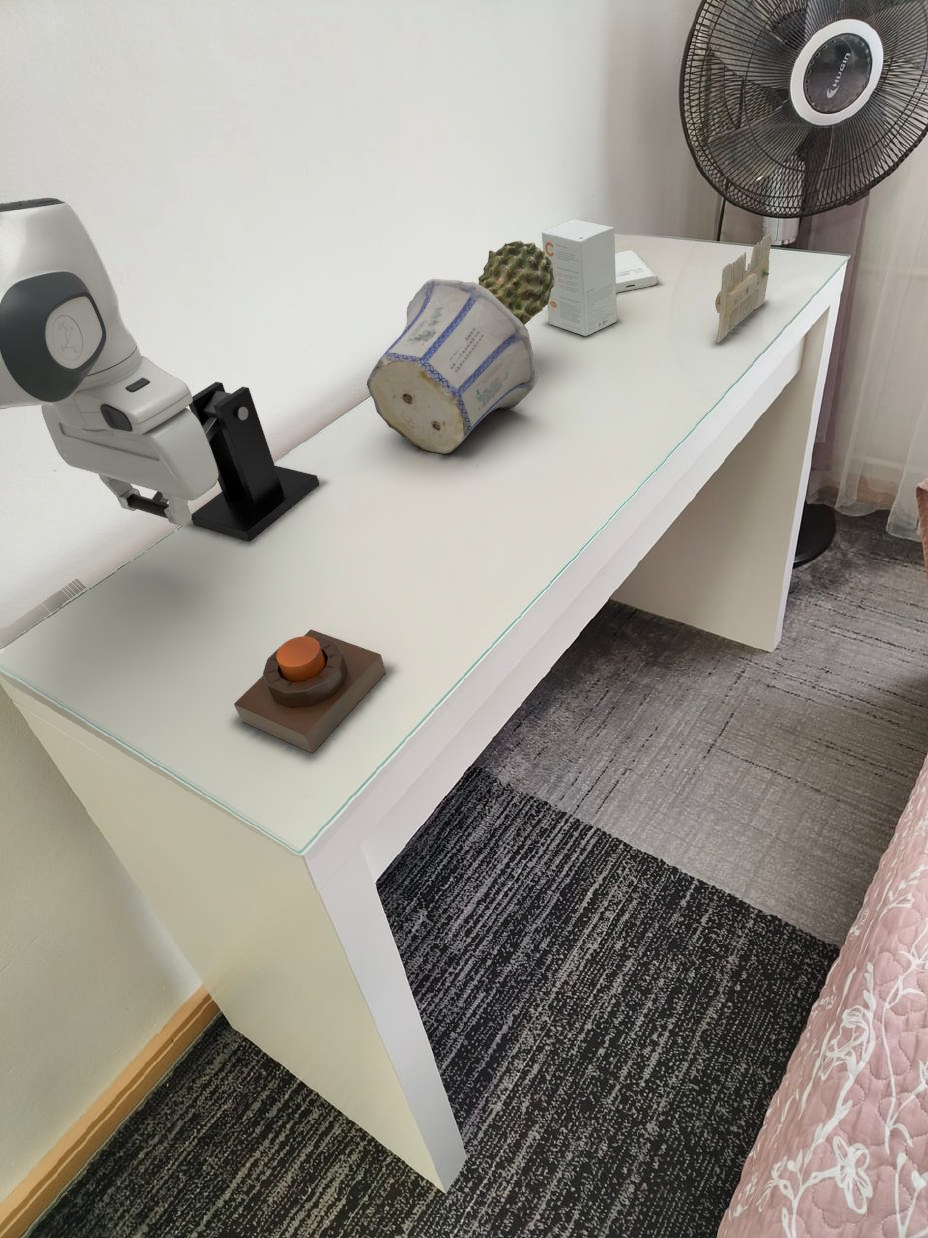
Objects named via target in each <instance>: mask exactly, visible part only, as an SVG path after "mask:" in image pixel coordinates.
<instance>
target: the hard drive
mask: <svg viewBox="0 0 928 1238" xmlns="http://www.w3.org/2000/svg"><path fill="white" fill-rule="evenodd" d="M615 272H616V294H618V293H623V292H627V291H633V290H638V289H642V288H646V287H647V288H648V287H652V286H655V285H656V284H657V283H658V276H657V275H656V274H655V273H654V272H653V271H652V269H651V268H650V267H649V266H648V265H647V264H646V263H645V262H644V260H642V259H641V257H640V256H639V255H638V254H637V253H636V252H635V251H634V250H631V249H629V250H624V251H620V252H615Z"/></svg>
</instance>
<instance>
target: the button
mask: <svg viewBox="0 0 928 1238" xmlns="http://www.w3.org/2000/svg"><path fill="white" fill-rule="evenodd" d="M279 647H280V646H279ZM279 647H278V648H279ZM278 648H277V649H278ZM276 657H277V661H278V663H279V666H280V668H281V671H282V673H283V675H284V677H285V678H286V679H288V680H290V681H295V682H300V681H306V680H308V679H310V678H312V677H315V676H316V675H318V674H319V673H320V672H321V671H322V669H323V667H324V665H325V659H324V656H323V653H322V650H321V647H320V644H319V642H318V641H317V640H316V639H314V638H312V637H308V636H304V635H303V636H296V637H293V638H291V639H288V640H286V641H285V642H284V643H282V645H281V647H280V648H279V649H278V651H277V655H276Z"/></svg>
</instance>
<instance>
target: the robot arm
mask: <svg viewBox="0 0 928 1238" xmlns="http://www.w3.org/2000/svg"><path fill="white" fill-rule="evenodd" d="M192 397H193V394H192V392H191V389H190V387H189V385H188V384H187V383H186V382H185V381H183V380H182V379H180V378H179V377H176V376H174V375H173V374H171V373H169V372H168V371H166V370H164V369H163V368H161V367H160V366H158V365H157V364H156V363H155V362H153V361H152V360H151V359H150V358H148V357H147V356H145V355H142V353H141V350H140V349H139V346H138V344H137V341H136V339H135V338H134V335H133V334H132V333H131V332H130V330H129V329H128V328H127V326H126V324H125V323H124V320H123V319H122V316H121V312H120V307H119V298H118V294H117V291H116V289H115V286H114V283H113V282H112V279H111V277H110V274H109V272H108V270H107V267H106V265H105V263H104V261H103V259H102V257H101V254H100V253H99V251H98V248H97V246H96V244H95V242H94V240H93V239H92V237H91V235H90V233H89V231H88V230H87V228H86V226H85V224H84V223H83V221H82V220H81V218H80V216H79V214H77V212H76V211H75V210H74V208H73V207H72V205H70V204H69V203H68V202H66V201H64V200H60V199H59V198H54V197H41V198H34V199H25V200H17V201H10V202H1V203H0V410H7V409H11V408H12V409H13V408H24V407H38V406H40V408H41V409H40V410H41V414H42V417H43V420H44V423H45V425H46V428H47V430H48V433H49V435H50V438H51V441H52V443H53V445H54V447H55V449H56V451H57V453H58V455H59V457H60V458H61V459H62V460H63V461H64V462H65V463H66V464H67V465H68V466H70V467H72V468H76V469H79V470H83V471H85V472H89V473H93V474H96V475H98V476H99V479H100V481H101V482H102V483H103V484H104V485H105V486H106V487H107V488H108V489H109V490H110V492H111V493H112V494H113V495H114V496H115V497H116V499H117V501H118V503H119V506H120V507H121V508H122V509H124V510H128V511H131V512H135V511H136V510H137V509H134V508H132V507H131V505H130V499H131V498H132V496H134V495H140V496H142V495H141V493H140V490H139V489H138V488H135V487H134V486H133V485H135V486H137V487H142V488H145V489H148V490H152V491H156V492H157V491H158V492H161V493H162V495H163V497H164V498H165V499H168V504H169V507H168V508H166V509H165V510H164V511H165V514H166V516H167V517H168V519H167V521H168V522H169V523H170V524H173V525H176V526H178V527H184V526H185V525H186V524H187V523H189V522H190V521H192V519H191V518H192V515H191V514H192V512H191V510H190V508H189V505H188V504H189V502H191V501H192V502H193V501H195V500H197V499H199V498H200V497H202V496H204V495H205V494H206V493H207V492H209V491H210V490H211V489H213V488H214V487H215V486H216V485H217V483H218V469H217V465H216V462H215V459H214V456H213V453H212V450H211V448H210V445H209V442H208V440H207V437H206V435H205V432H204V430H203V428H202V426H201V424H200V422H199V420H198V419H197V417H196V416H195V415H194V414H193V413H192V412H191V410H190V408H188V407H189V405H190V404H191V403H192V402H193V398H192Z"/></svg>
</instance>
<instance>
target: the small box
mask: <svg viewBox="0 0 928 1238" xmlns="http://www.w3.org/2000/svg"><path fill="white" fill-rule="evenodd" d="M541 239H542V240H541V241H542V251H543V252H545V253H546V254H547V256H548V258H549V259H550V261H551V262H552V264H553V277H554V280H555V283H554V287H553V288H552V289H551V293H550V298H549V302H548V304H547V305H546V306H547V319H548V325H551V326H555V327H557V328H560V329H564V330H566V331H569V332H572V333H574V334H577V335H581V336H583V337H587V336H590V335H592V334H594V333H596V332H598V331H600V330H602V329H605V328H606V327H608V326H610V325H612V324H615V323H616V322H617V321H618V313H617V312H618V309H617V308H618V307H617V293H616V272H615V253H616V245H615V244H616V243H615V242H616V241H615V226H614V227H613V226H609V225H604V224H599V223H594V222H589V221H585V220H581V219H577V218H574V219H571V220H569V221H566V222H563V223H561V224H558V225H556V226H552V227H551V228H548V229H545V230H542V231H541Z"/></svg>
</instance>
